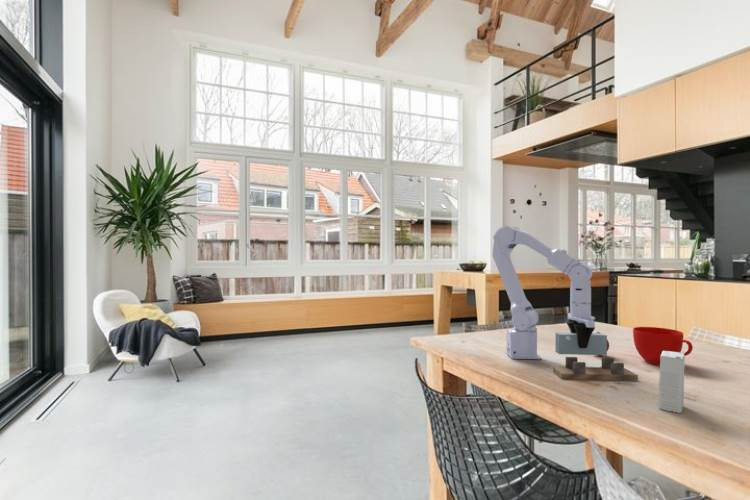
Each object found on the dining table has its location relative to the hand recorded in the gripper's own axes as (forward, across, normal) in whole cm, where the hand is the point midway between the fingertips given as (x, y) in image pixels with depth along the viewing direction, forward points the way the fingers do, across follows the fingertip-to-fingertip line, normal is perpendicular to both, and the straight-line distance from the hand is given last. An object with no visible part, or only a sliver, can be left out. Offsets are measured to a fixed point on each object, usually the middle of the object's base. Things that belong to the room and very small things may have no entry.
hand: (580, 346), depth 123 cm
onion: (+6, +12, -11) cm, 17 cm away
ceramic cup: (+6, +3, -26) cm, 27 cm away
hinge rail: (+6, -11, +1) cm, 12 cm away
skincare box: (+6, -33, -6) cm, 34 cm away
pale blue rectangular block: (+2, 0, 0) cm, 2 cm away
